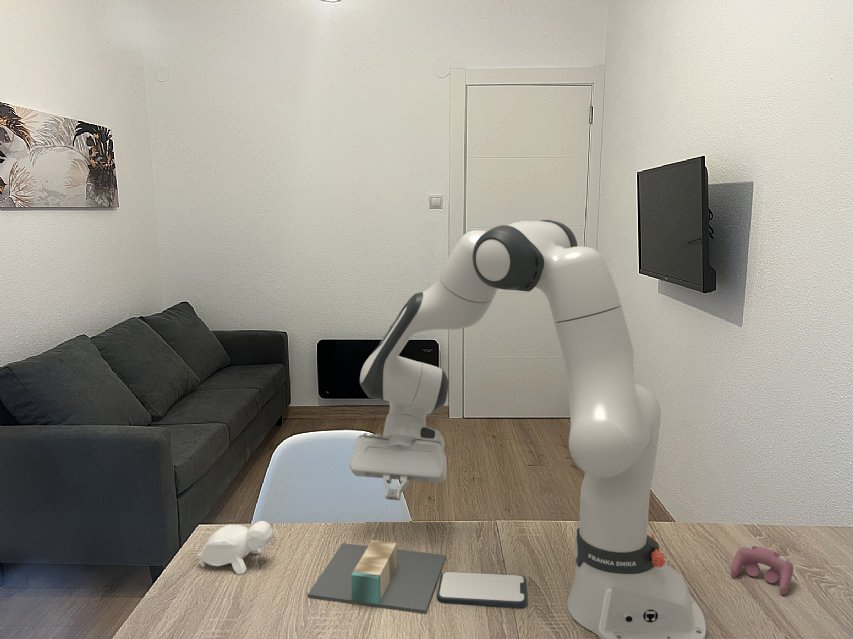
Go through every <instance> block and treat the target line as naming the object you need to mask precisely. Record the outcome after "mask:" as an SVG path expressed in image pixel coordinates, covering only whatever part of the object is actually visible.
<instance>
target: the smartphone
mask: <svg viewBox="0 0 853 639" xmlns="http://www.w3.org/2000/svg"><path fill="white" fill-rule="evenodd" d="M527 598H528V597H527V579H526V577H525V576H524V575H520V574H506V573H503V574H502V573H501V574H499V573H484V572H463V571H461V572H460V571H444V572H441V573H440V576H439V583H438V588H437V593H436V601H437V602H438V603H441V604H449V605H450V604H452V605H463V606H476V607H490V608H505V609H522V610H523V609H524V608H526V607H527V604H528V603H527V602H528V599H527Z"/></svg>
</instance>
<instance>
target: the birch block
mask: <svg viewBox="0 0 853 639" xmlns="http://www.w3.org/2000/svg"><path fill="white" fill-rule="evenodd" d="M367 546H368V548H367V549H366V551H365V553H364V554H363V556H362V558H361V559H360V561H359V563H358V564H357V566H356V568H355V569H354V571H353V573H352V574H351V585H352V601H359V602H366V603H374V604H379V603H380V601H381V599H382V597H383V595H384V593H385V591H386V589H387V587H388V584H389V582H390V580H391V578H392V576H393V574H394V572H395V570H396V568H397V548H398V543H397V542H390V541H382V540H373V539H372V540H371V541H370V542H369V545H367Z"/></svg>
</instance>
